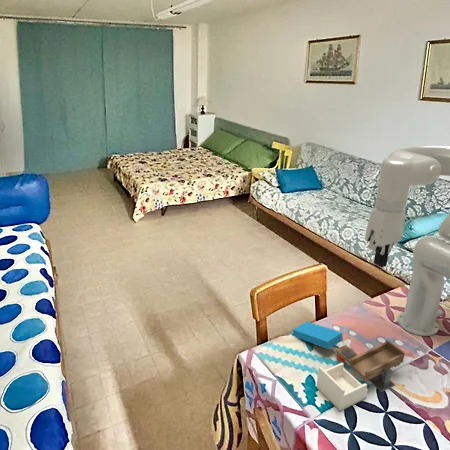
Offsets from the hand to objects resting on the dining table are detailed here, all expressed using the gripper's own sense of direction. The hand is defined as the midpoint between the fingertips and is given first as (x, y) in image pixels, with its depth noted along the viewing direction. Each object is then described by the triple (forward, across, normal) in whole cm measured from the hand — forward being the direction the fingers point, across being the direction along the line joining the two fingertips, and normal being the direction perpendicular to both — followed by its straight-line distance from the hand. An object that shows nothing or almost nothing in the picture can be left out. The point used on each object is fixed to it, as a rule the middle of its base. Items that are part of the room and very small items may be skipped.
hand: (379, 264), depth 113 cm
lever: (+30, +12, -7) cm, 33 cm away
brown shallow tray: (+26, +7, +7) cm, 28 cm away
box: (+29, +20, +10) cm, 37 cm away
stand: (+29, +8, +10) cm, 32 cm away
